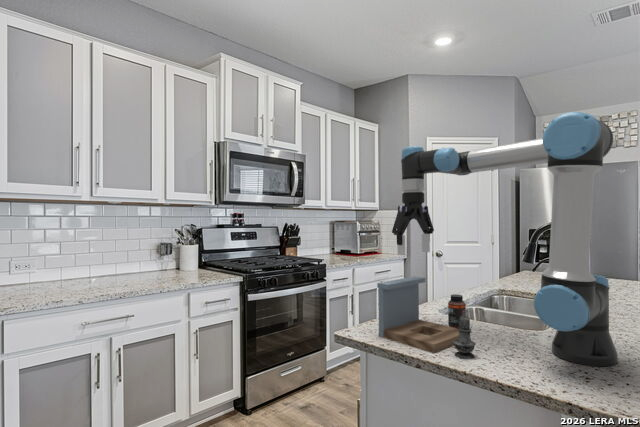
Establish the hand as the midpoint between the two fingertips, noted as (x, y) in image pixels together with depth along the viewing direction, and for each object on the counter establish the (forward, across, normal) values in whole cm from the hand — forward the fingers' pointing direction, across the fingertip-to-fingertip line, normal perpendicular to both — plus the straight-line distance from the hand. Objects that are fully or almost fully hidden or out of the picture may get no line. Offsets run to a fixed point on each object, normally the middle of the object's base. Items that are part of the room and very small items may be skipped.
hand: (414, 253), depth 134 cm
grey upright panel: (+26, +5, -1) cm, 27 cm away
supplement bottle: (+27, -14, +8) cm, 31 cm away
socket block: (+26, +5, +8) cm, 28 cm away
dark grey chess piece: (+27, +9, +24) cm, 37 cm away
